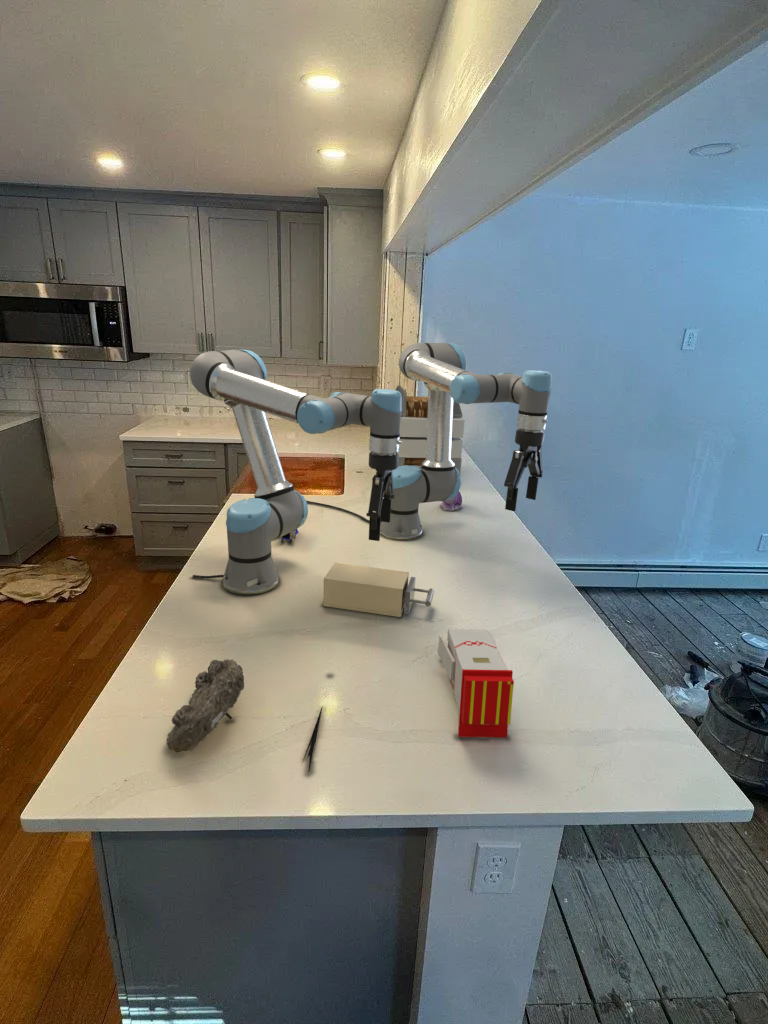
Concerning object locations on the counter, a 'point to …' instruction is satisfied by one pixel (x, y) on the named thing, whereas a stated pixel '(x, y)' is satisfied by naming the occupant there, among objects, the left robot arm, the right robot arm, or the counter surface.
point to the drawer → (410, 595)
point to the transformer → (424, 431)
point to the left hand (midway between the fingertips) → (379, 530)
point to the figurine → (453, 503)
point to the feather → (313, 740)
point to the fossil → (206, 705)
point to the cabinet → (365, 589)
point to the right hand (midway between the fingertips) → (520, 504)
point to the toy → (478, 682)
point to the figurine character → (289, 536)
